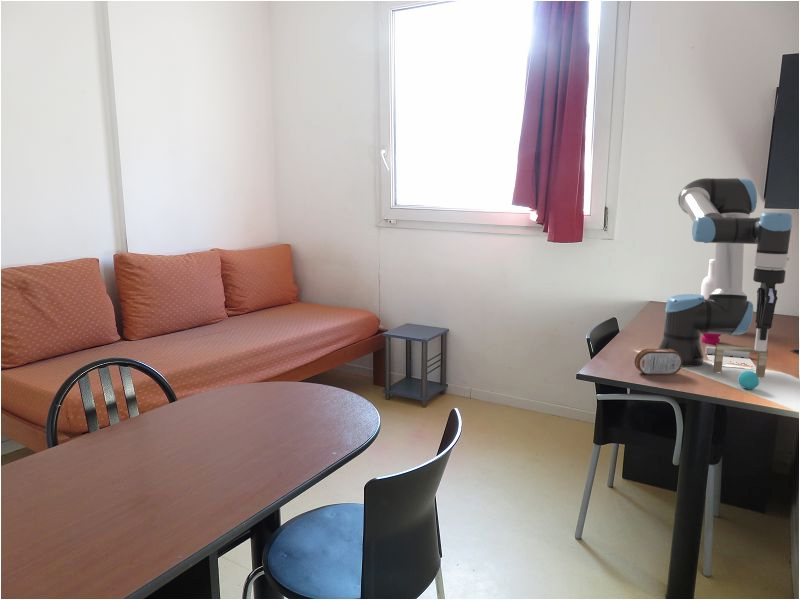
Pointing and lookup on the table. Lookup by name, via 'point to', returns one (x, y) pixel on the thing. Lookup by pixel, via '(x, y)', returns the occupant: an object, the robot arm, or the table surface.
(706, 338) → the pepper mill
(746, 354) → the stopper wall
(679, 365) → the tin
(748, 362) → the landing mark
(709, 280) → the bottle
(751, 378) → the ball
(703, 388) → the table surface
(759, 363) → the bridge
